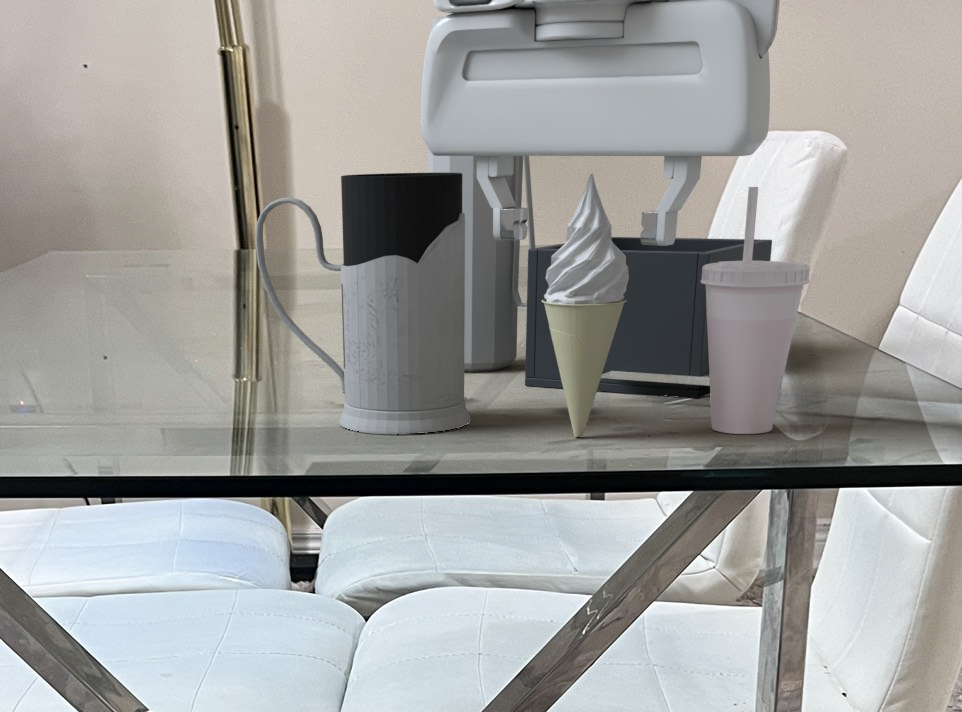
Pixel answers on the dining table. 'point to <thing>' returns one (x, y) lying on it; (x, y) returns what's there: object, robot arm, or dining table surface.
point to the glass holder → (396, 300)
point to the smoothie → (749, 333)
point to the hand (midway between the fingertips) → (581, 242)
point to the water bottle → (488, 264)
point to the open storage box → (642, 315)
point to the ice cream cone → (585, 303)
